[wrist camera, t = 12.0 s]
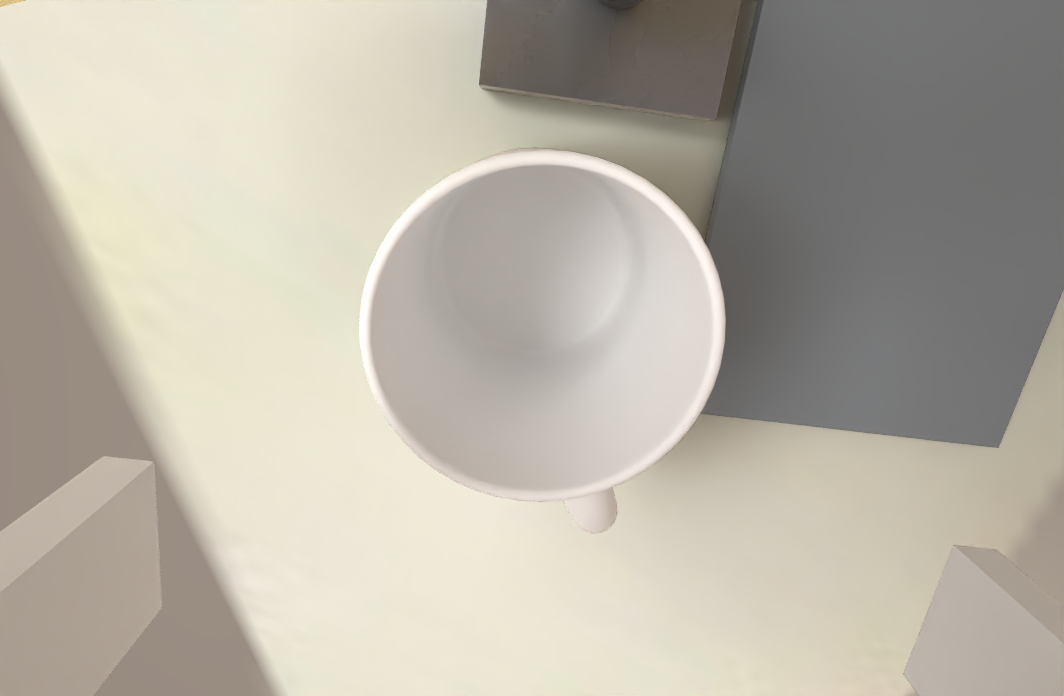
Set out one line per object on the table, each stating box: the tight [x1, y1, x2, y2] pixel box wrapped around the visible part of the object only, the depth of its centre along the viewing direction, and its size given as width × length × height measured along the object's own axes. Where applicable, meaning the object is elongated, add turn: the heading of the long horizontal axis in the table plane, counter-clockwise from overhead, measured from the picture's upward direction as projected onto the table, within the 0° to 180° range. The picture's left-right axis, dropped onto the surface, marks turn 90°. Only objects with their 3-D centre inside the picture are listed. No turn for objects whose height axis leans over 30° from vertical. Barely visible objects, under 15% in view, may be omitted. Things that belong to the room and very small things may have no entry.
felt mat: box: [701, 0, 1064, 448], centre depth 23 cm, size 18×14×1 cm
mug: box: [359, 148, 726, 533], centre depth 19 cm, size 12×8×10 cm
